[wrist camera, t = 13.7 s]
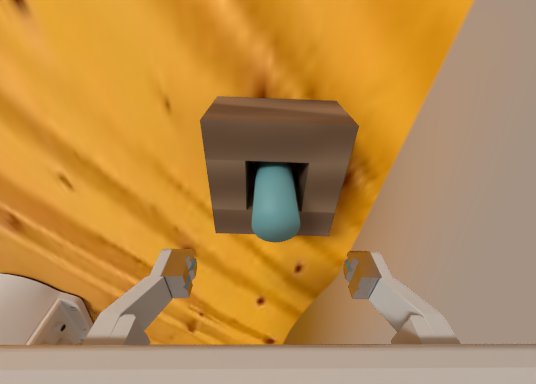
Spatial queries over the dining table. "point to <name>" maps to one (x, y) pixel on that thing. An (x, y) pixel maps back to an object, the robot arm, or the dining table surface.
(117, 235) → the dining table surface
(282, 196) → the teal peg
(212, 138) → the walnut hole block
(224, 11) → the dining table surface
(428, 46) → the dining table surface
